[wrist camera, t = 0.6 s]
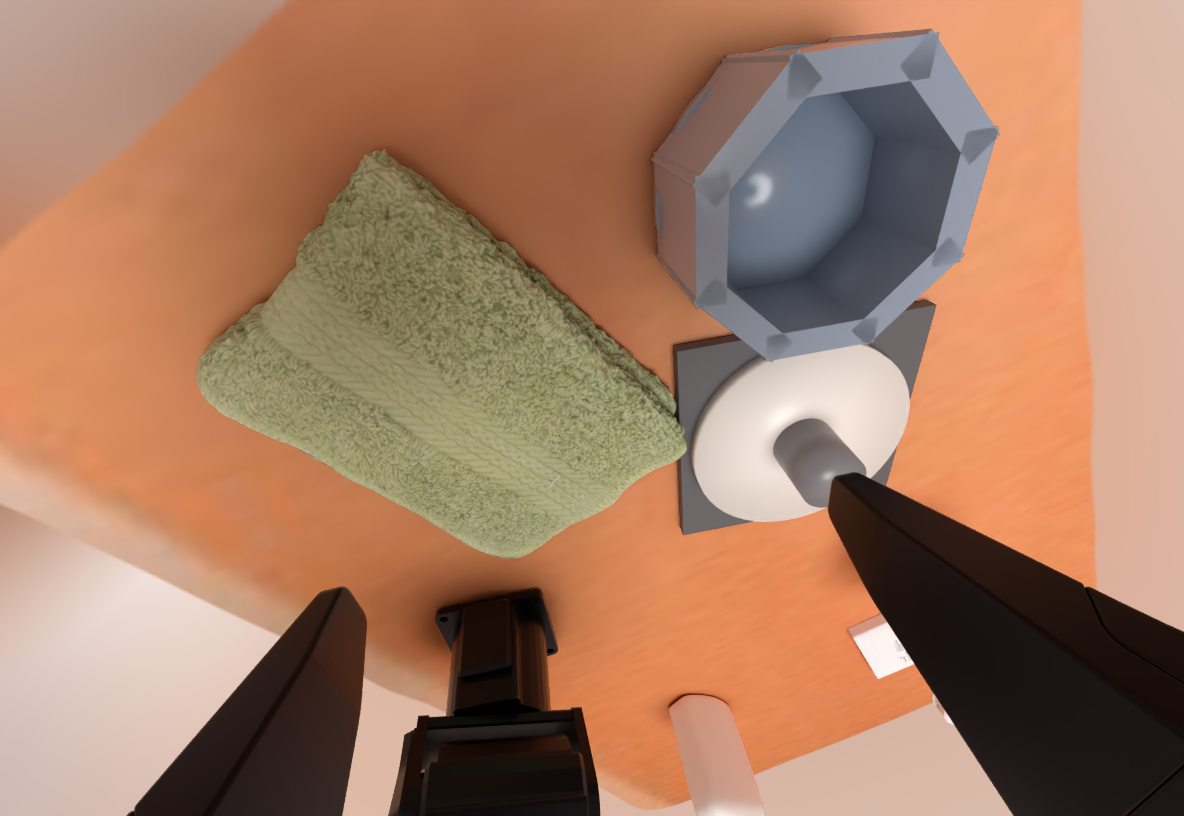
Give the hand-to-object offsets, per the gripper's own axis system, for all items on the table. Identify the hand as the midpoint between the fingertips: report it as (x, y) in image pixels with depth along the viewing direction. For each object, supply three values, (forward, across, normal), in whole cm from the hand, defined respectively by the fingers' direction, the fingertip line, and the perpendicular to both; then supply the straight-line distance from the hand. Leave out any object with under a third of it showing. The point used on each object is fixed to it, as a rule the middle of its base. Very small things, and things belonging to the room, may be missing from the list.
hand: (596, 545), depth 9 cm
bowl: (+14, -9, -2) cm, 17 cm away
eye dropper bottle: (+14, -5, +38) cm, 41 cm away
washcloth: (+14, +4, +4) cm, 16 cm away
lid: (+13, -11, +10) cm, 20 cm away
